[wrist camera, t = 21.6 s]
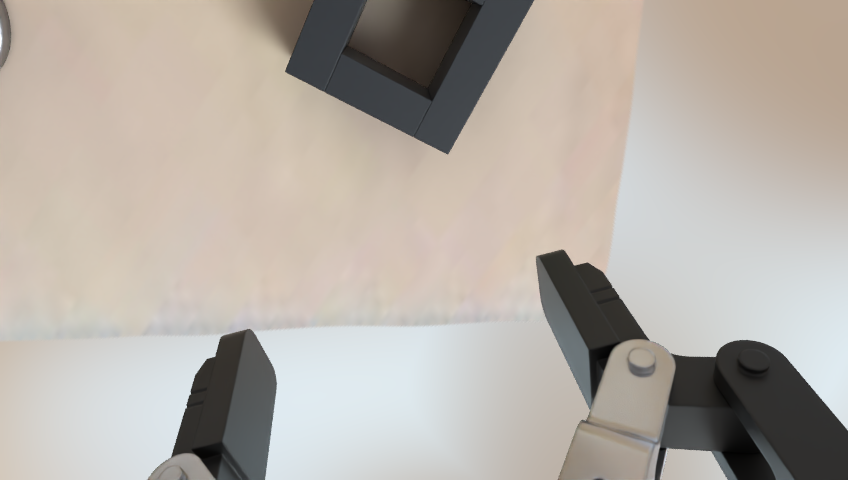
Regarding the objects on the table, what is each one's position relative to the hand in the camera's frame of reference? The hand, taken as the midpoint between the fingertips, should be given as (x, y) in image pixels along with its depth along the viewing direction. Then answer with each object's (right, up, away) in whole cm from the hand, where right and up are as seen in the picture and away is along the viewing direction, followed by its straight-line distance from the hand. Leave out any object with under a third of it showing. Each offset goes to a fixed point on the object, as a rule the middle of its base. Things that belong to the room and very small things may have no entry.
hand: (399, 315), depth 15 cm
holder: (0, +16, +20) cm, 26 cm away
